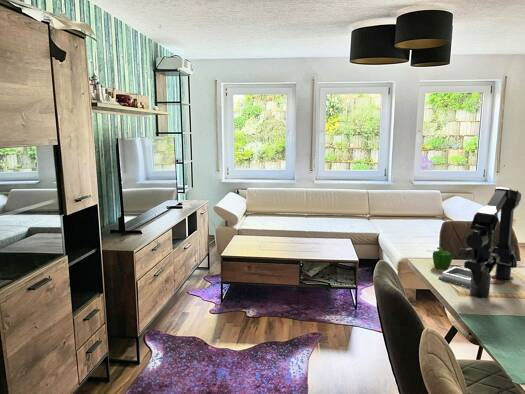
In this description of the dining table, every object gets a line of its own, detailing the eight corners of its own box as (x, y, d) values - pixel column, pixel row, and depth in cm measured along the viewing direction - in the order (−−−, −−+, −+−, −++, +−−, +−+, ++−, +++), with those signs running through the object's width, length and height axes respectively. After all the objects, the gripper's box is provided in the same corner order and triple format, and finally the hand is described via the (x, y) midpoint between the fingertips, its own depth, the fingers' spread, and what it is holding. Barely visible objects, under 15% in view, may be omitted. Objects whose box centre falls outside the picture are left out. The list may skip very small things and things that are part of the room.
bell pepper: (452, 266, 192) (453, 246, 190) (449, 272, 185) (451, 251, 183) (433, 263, 196) (434, 244, 194) (430, 268, 189) (431, 248, 188)
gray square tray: (453, 271, 185) (453, 265, 185) (485, 280, 175) (486, 273, 174) (438, 278, 176) (439, 272, 176) (471, 288, 166) (472, 281, 165)
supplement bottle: (491, 299, 155) (494, 269, 153) (472, 298, 156) (475, 268, 154) (485, 292, 162) (488, 264, 160) (467, 291, 163) (469, 263, 161)
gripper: (472, 235, 167) (469, 271, 170) (451, 243, 156) (449, 282, 158) (501, 241, 159) (498, 278, 162) (482, 250, 147) (478, 290, 150)
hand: (480, 282), depth 158 cm, fingers open, 7 cm apart
